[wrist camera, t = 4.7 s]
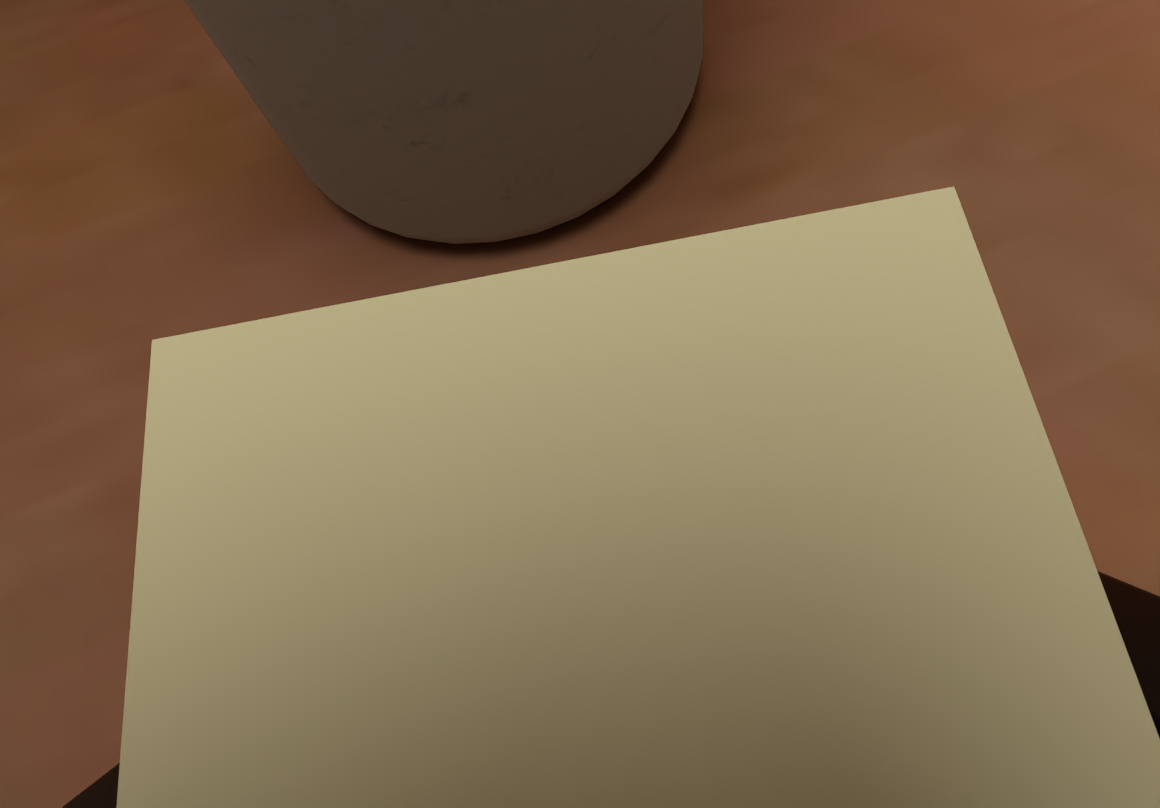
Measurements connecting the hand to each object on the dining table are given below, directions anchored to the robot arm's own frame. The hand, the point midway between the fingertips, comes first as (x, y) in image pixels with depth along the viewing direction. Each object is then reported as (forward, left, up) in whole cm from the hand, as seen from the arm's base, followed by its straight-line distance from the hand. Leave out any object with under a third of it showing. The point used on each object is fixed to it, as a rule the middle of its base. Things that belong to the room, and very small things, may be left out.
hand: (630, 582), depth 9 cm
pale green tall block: (-1, -1, -7) cm, 7 cm away
